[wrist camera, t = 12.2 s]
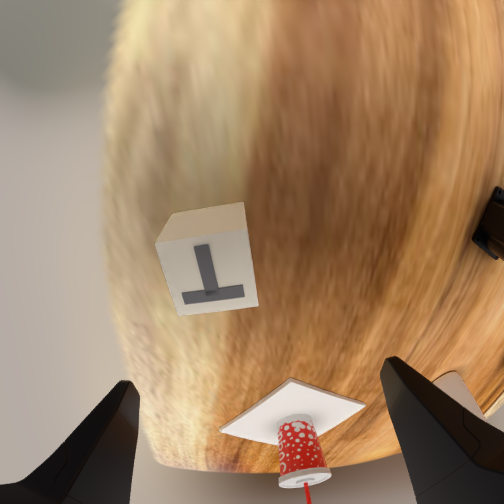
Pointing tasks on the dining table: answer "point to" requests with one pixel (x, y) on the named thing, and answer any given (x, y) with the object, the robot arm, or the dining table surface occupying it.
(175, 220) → the letter block
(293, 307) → the dining table surface
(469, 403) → the milk bottle
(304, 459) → the beverage cup
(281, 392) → the mat
